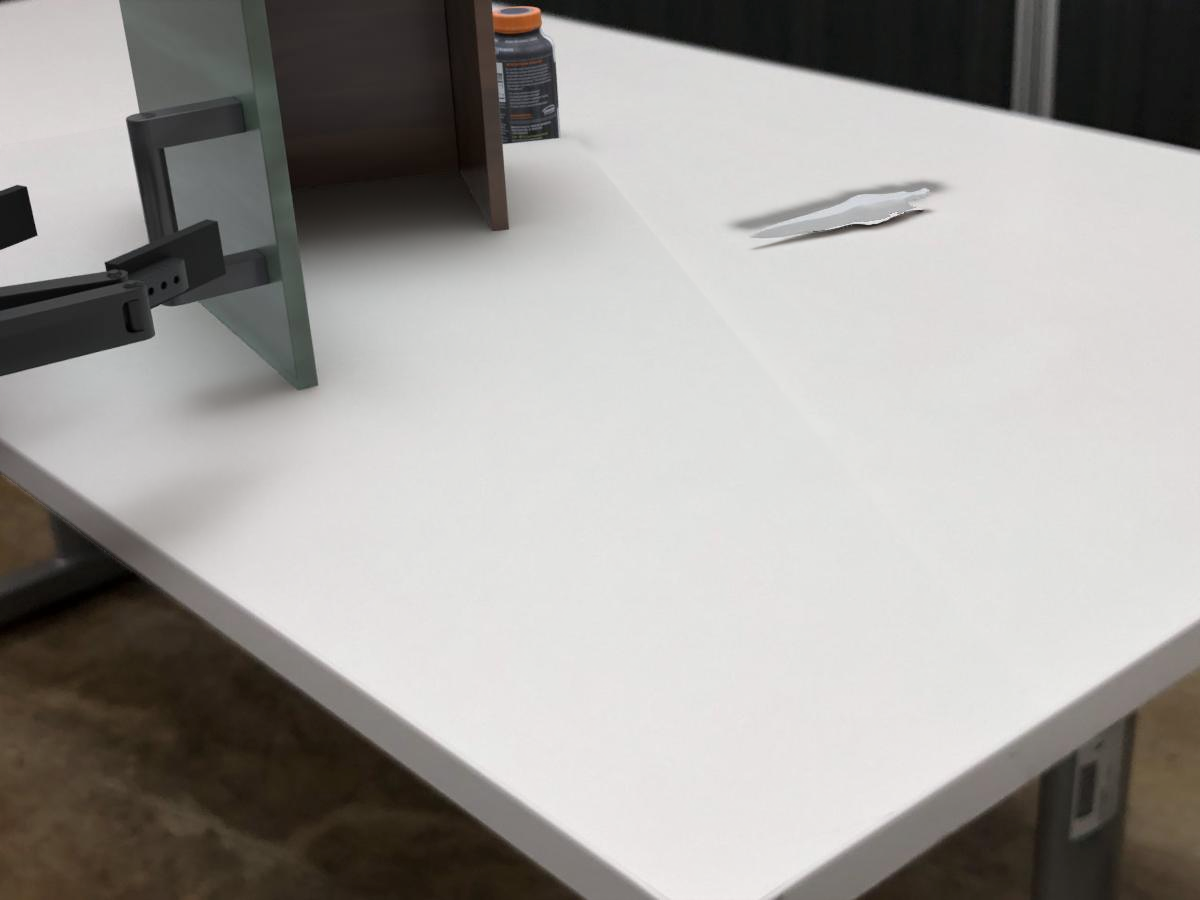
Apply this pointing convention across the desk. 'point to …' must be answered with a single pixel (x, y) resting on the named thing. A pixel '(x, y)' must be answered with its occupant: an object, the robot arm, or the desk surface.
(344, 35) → the cupboard
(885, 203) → the grey tapered strip
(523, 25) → the pill bottle
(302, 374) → the cupboard door
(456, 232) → the desk surface
